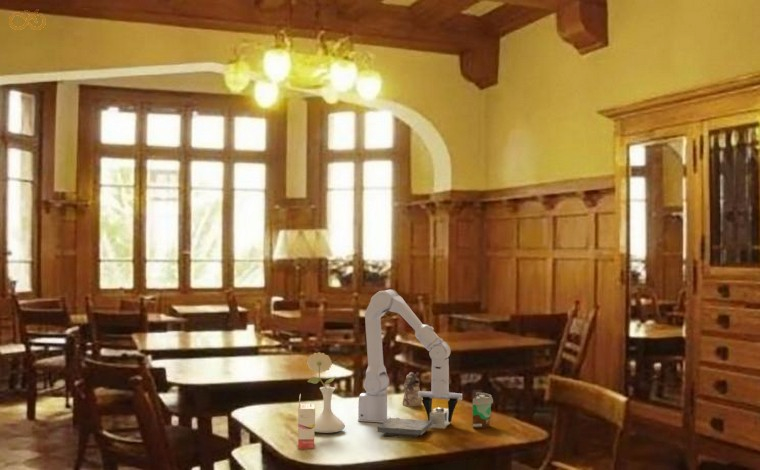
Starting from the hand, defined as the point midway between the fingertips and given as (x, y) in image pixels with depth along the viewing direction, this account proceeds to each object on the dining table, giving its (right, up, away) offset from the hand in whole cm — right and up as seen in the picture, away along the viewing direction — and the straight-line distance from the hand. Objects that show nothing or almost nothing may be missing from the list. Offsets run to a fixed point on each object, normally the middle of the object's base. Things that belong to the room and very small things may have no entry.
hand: (439, 420), depth 279 cm
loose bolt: (-11, -1, 0) cm, 12 cm away
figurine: (-8, -2, +35) cm, 35 cm away
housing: (0, -2, 0) cm, 2 cm away
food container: (+14, -2, -1) cm, 14 cm away
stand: (-12, -1, -12) cm, 17 cm away
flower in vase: (-37, -1, -10) cm, 39 cm away
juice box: (-41, -1, -29) cm, 51 cm away
